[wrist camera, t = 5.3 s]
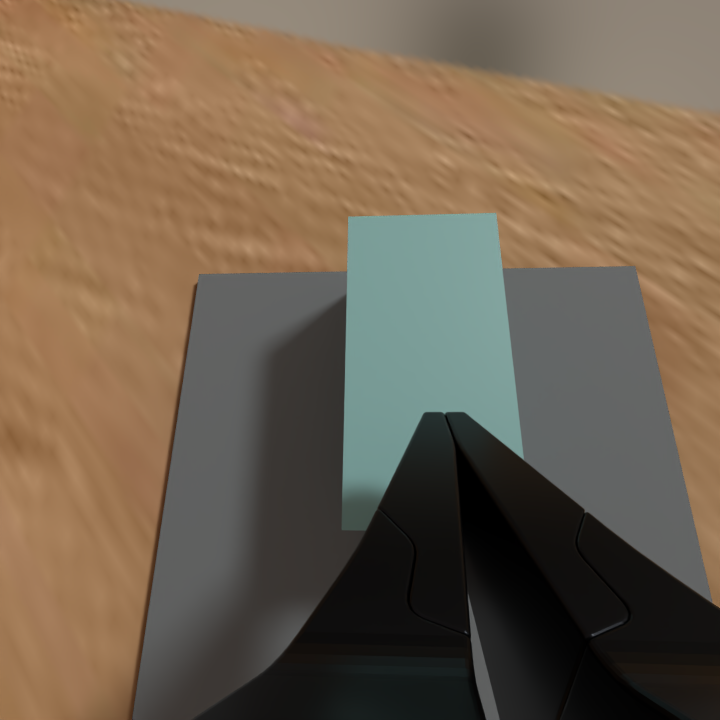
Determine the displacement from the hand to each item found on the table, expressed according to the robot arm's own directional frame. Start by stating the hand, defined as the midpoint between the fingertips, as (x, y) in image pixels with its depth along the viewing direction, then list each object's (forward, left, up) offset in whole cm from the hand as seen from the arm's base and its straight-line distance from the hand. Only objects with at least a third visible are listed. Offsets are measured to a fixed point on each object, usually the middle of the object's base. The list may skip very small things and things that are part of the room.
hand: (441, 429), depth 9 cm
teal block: (-2, 0, -4) cm, 5 cm away
